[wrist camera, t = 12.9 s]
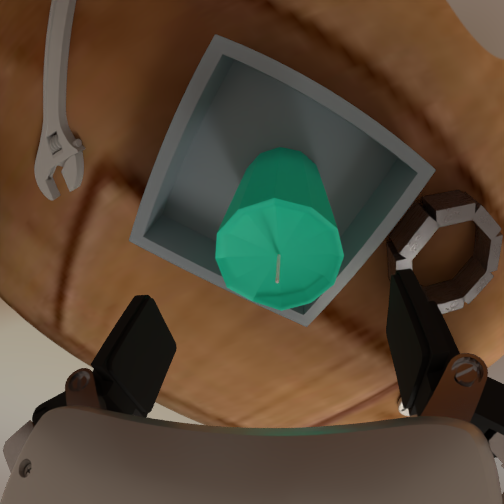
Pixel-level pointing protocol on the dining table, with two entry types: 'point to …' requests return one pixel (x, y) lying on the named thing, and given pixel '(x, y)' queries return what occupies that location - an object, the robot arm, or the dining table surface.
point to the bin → (261, 140)
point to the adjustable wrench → (57, 108)
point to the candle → (279, 233)
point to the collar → (421, 230)
